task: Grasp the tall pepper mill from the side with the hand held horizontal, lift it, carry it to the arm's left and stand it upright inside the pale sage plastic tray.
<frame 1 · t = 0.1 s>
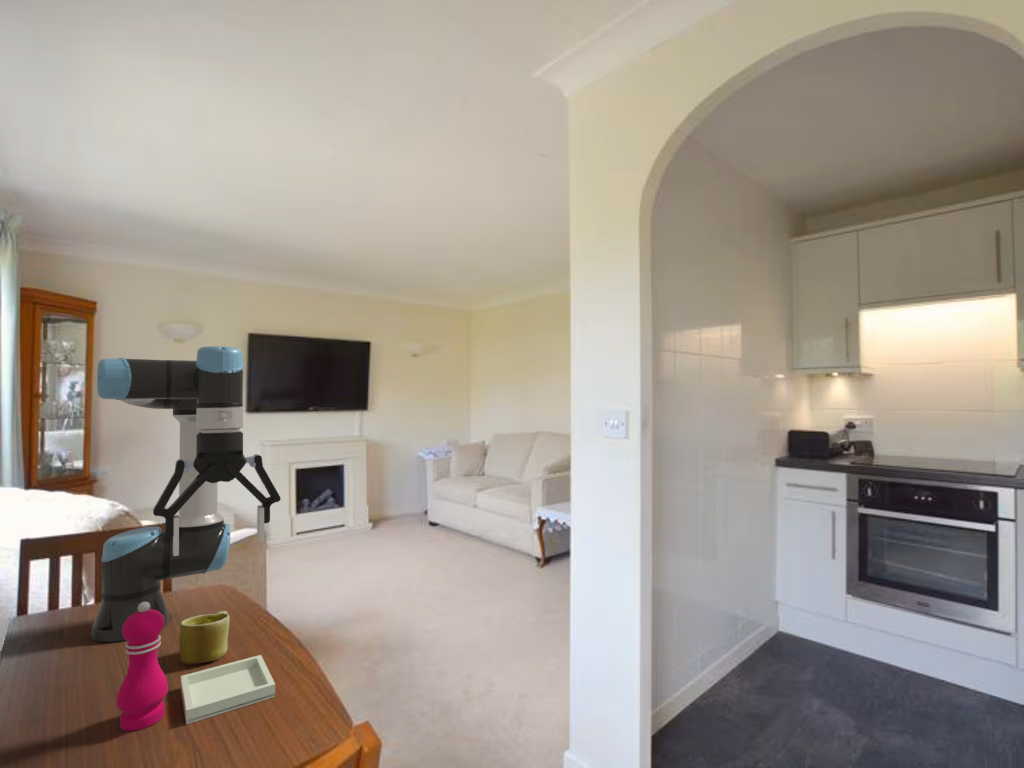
hand: (219, 547, 96), 28 cm above the table, fingers open, 13 cm apart
pepper mill: (142, 721, 90), on the table
mug: (209, 654, 114), on the table
tray: (227, 692, 99), on the table
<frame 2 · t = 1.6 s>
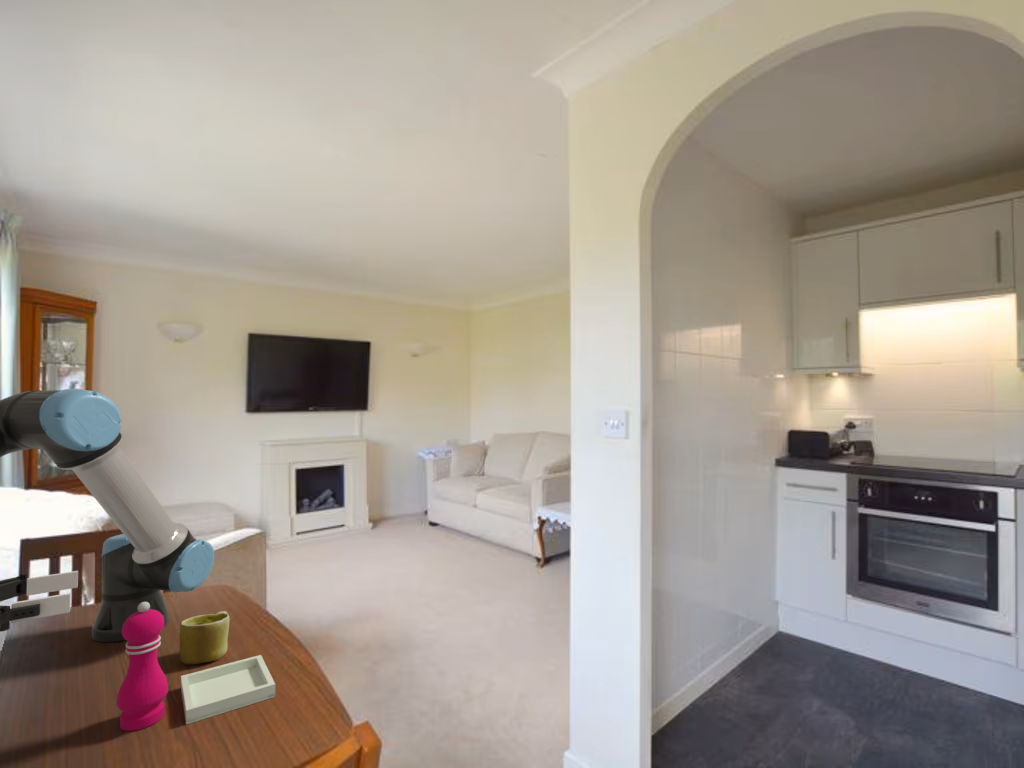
hand: (74, 589, 86), 24 cm above the table, fingers open, 13 cm apart
nothing on the table moved.
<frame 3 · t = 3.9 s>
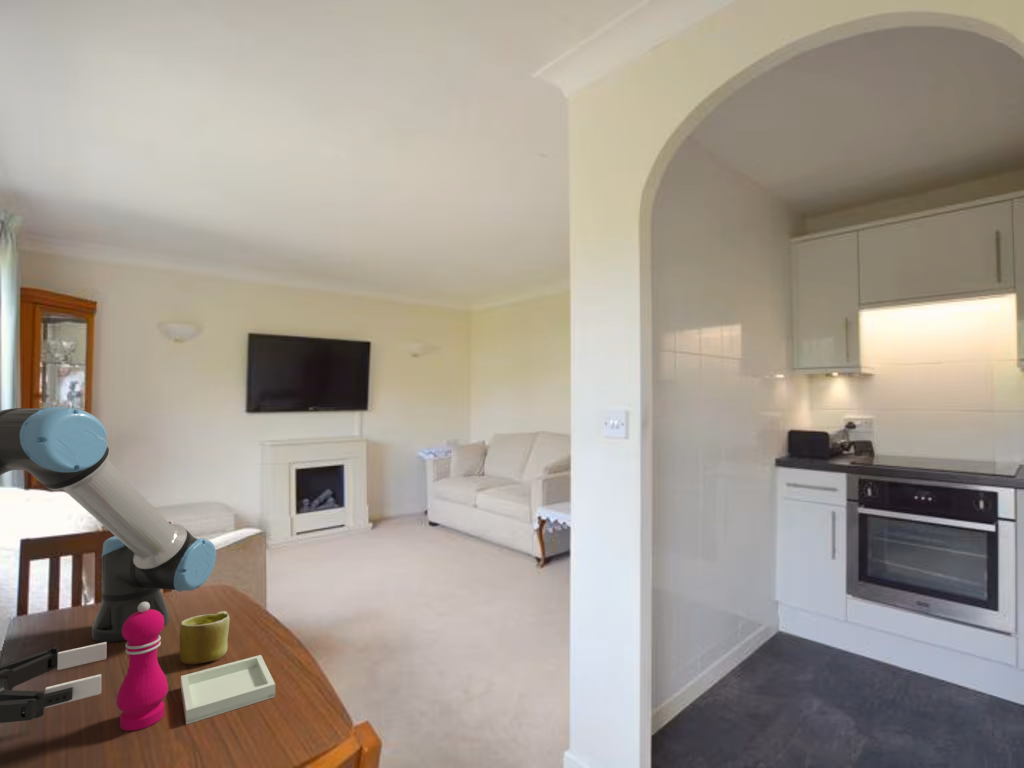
hand: (104, 665, 87), 11 cm above the table, fingers open, 13 cm apart
nothing on the table moved.
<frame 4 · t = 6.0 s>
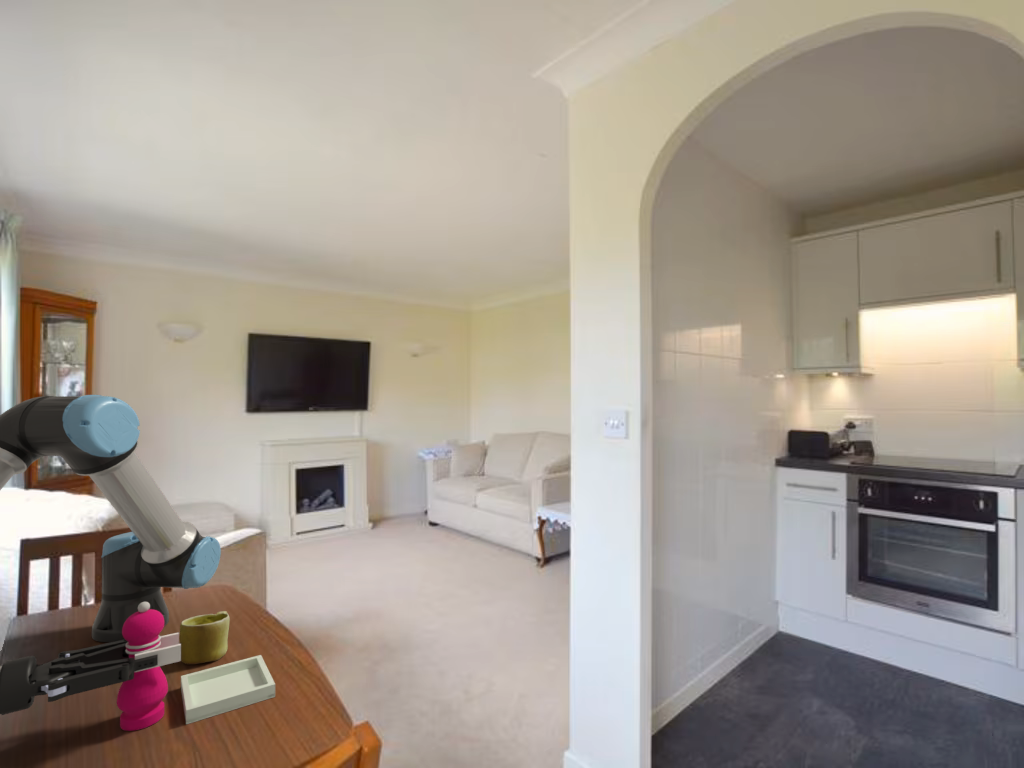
hand: (179, 646, 94), 11 cm above the table, fingers closed on pepper mill, 5 cm apart
pepper mill: (142, 721, 90), on the table, touching gripper
everything else where it was.
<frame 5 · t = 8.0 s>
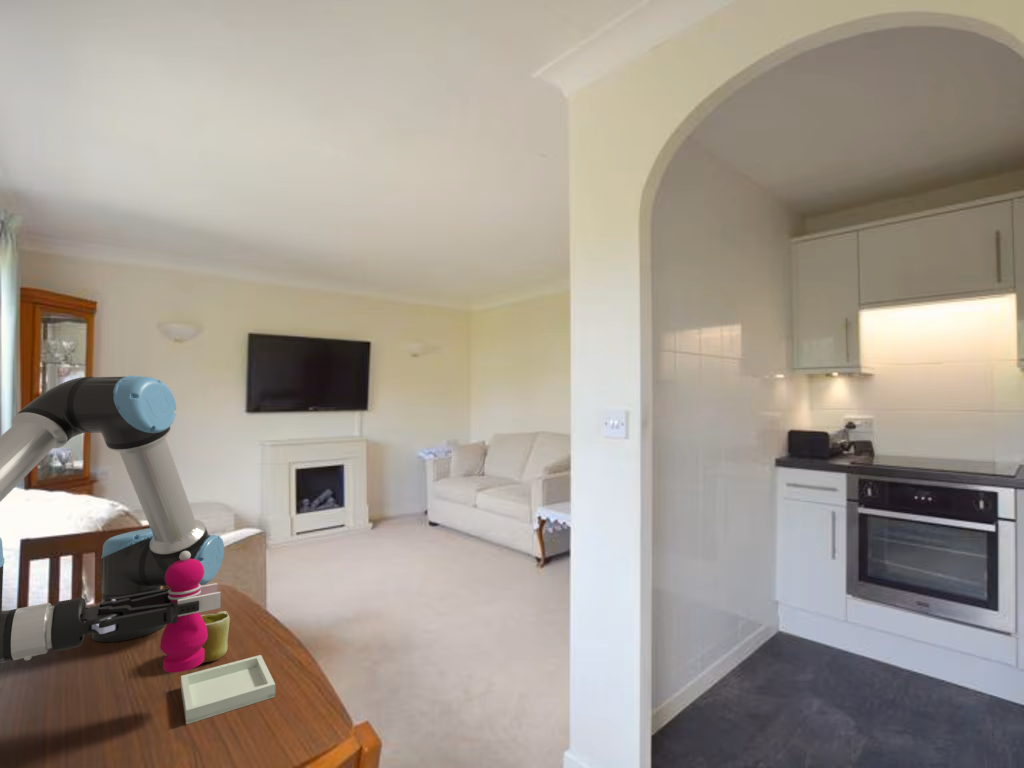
hand: (218, 595, 97), 19 cm above the table, fingers closed on pepper mill, 5 cm apart
pepper mill: (184, 665, 94), point 8 cm above the table, touching gripper
everything else where it was.
when the fingers open (13 cm above the table, at t = 9.9 s): pepper mill drops 1 cm, resting on tray.
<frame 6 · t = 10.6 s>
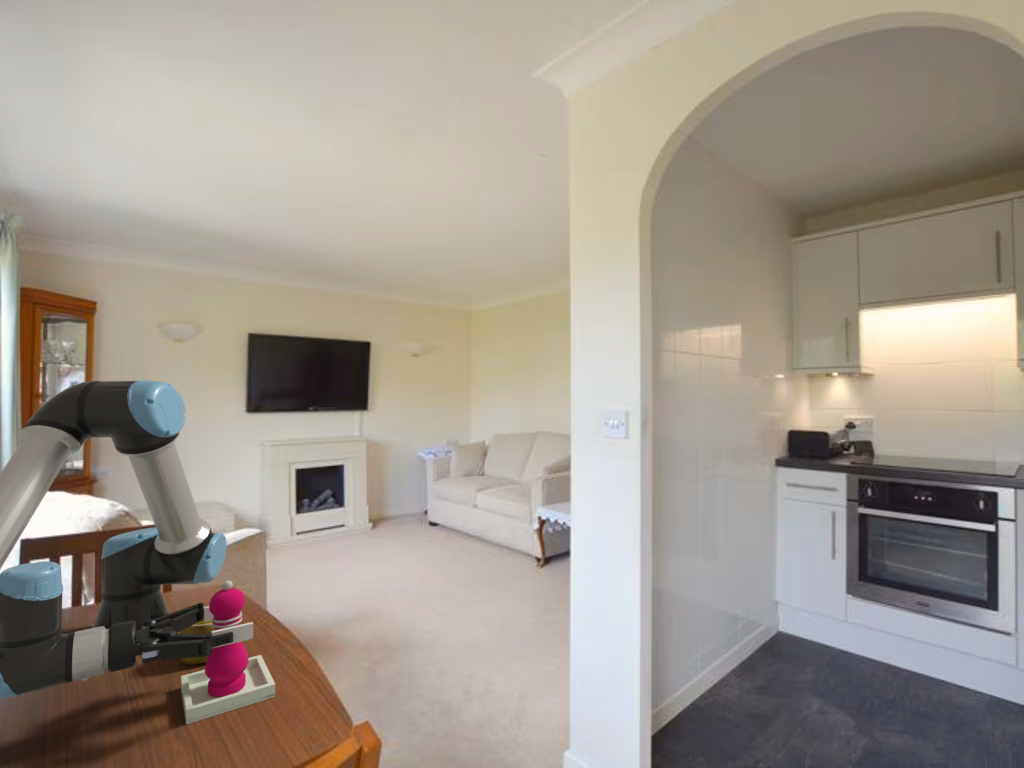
hand: (247, 617, 101), 13 cm above the table, fingers open, 13 cm apart
pepper mill: (226, 689, 99), resting on tray
everything else where it was.
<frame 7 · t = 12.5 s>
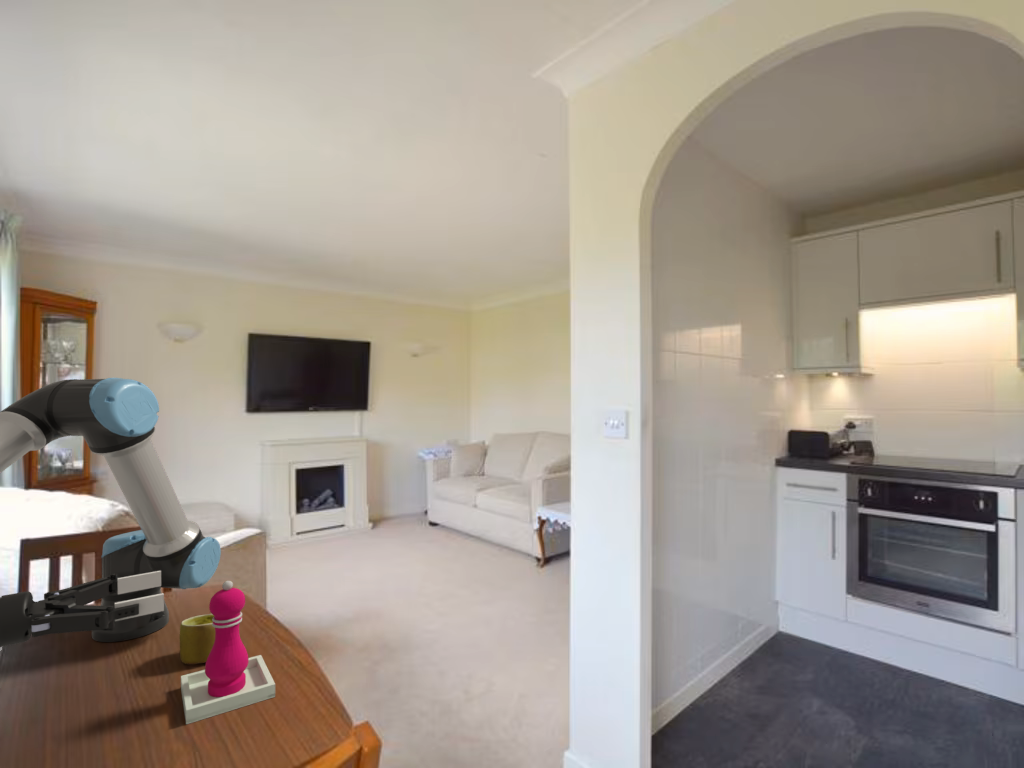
hand: (162, 589, 93), 21 cm above the table, fingers open, 13 cm apart
nothing on the table moved.
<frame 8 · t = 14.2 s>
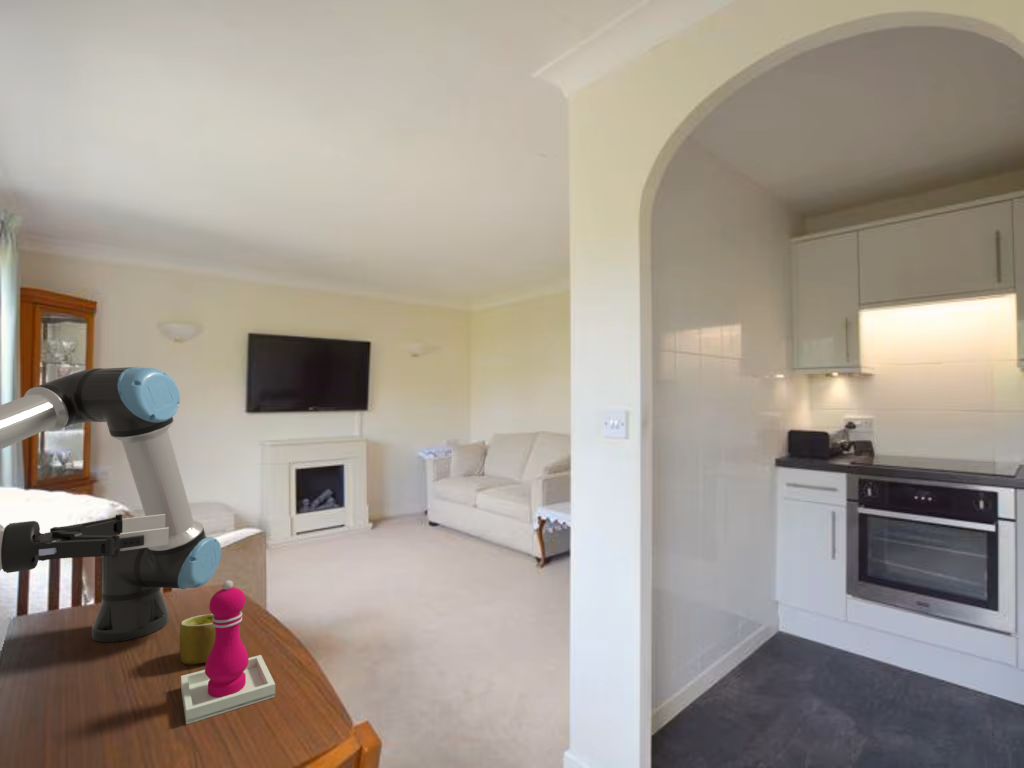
hand: (167, 528, 94), 32 cm above the table, fingers open, 13 cm apart
nothing on the table moved.
at the end: pepper mill inside the target area on the tray (0.4 cm from its centre), point 0.4 cm above the tray's base; pepper mill tilted 0°; the gripper is holding nothing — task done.
